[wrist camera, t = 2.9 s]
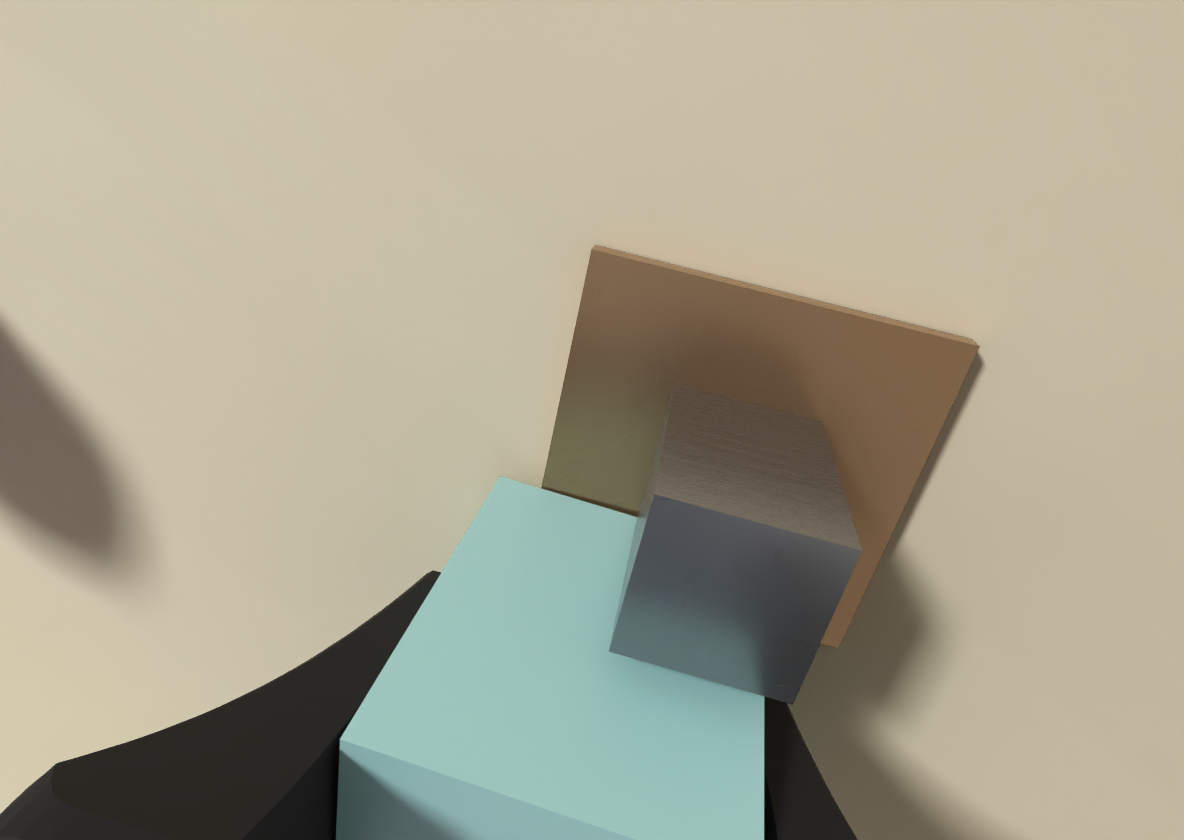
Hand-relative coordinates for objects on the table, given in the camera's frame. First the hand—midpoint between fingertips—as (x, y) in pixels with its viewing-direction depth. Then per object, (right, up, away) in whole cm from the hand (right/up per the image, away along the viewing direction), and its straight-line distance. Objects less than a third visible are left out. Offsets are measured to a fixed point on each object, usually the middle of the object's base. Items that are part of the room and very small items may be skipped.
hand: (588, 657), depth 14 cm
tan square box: (+3, +4, 0) cm, 5 cm away
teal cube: (0, 0, +1) cm, 1 cm away
